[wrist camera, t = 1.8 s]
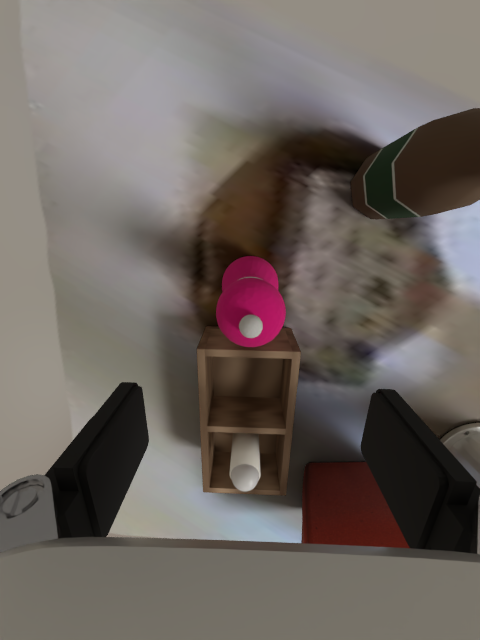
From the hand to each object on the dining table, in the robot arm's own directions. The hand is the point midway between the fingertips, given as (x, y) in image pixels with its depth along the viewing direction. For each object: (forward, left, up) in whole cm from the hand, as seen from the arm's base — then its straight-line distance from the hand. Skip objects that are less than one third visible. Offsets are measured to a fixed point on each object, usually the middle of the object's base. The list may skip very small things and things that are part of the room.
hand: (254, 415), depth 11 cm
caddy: (0, +20, -29) cm, 35 cm away
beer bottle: (-16, -12, -29) cm, 35 cm away
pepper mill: (0, 0, -29) cm, 29 cm away
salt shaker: (0, +26, -28) cm, 38 cm away
